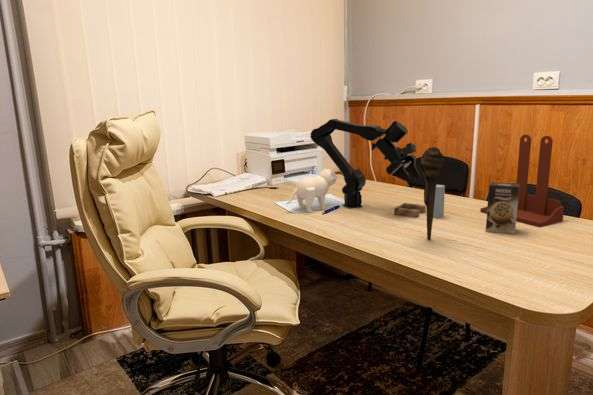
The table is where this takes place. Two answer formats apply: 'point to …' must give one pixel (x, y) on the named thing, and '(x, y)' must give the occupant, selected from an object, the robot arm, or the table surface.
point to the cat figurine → (314, 189)
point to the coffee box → (502, 207)
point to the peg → (439, 202)
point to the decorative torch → (430, 181)
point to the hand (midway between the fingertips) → (415, 180)
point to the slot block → (409, 210)
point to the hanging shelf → (538, 206)
